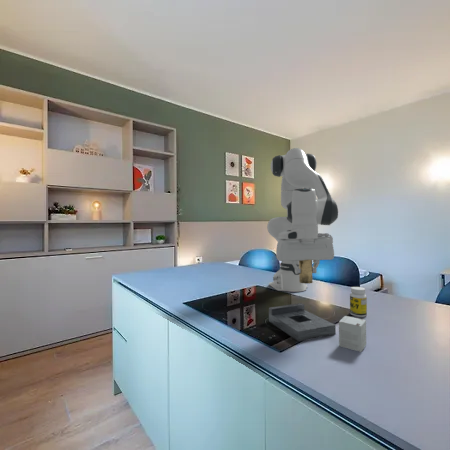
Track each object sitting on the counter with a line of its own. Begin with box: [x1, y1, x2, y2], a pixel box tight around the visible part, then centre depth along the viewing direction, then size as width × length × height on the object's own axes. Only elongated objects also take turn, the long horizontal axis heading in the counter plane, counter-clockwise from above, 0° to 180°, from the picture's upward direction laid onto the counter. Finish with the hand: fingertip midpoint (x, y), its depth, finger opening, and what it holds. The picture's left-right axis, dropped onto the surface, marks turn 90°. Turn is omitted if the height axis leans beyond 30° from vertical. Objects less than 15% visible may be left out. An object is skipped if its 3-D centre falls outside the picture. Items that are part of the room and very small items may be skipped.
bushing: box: [299, 260, 314, 285], centre depth 94 cm, size 4×4×8 cm
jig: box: [268, 302, 337, 342], centre depth 92 cm, size 18×14×5 cm
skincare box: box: [338, 315, 367, 353], centre depth 78 cm, size 6×6×7 cm
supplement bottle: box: [349, 286, 368, 318], centre depth 103 cm, size 6×6×10 cm
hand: (305, 273), depth 94 cm, fingers closed on bushing, 4 cm apart
